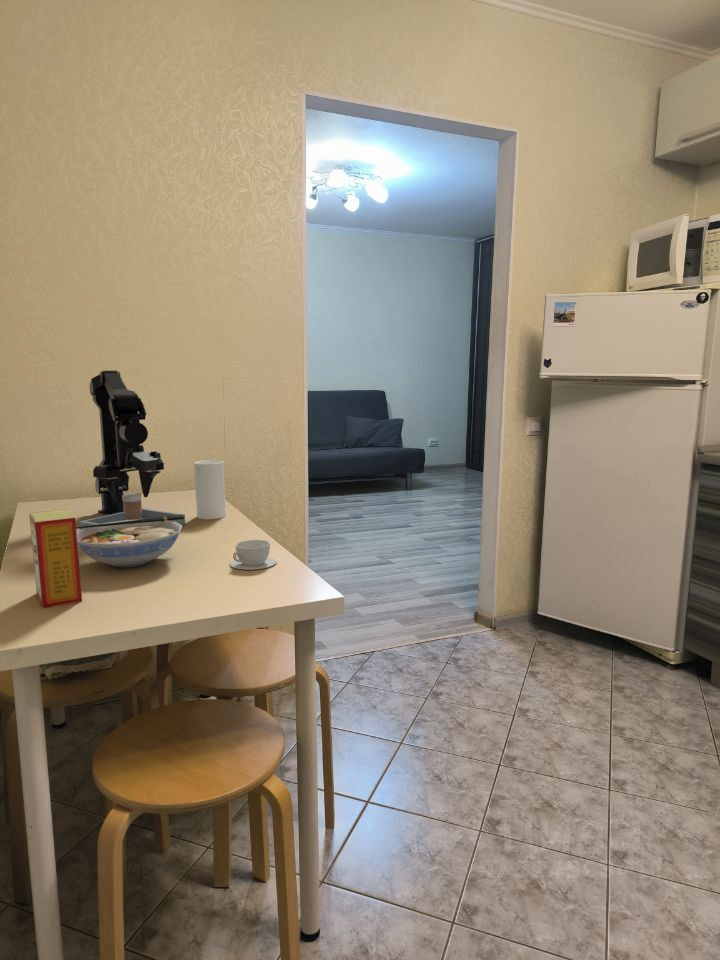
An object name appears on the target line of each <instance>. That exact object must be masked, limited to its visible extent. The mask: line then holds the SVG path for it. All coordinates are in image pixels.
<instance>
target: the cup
mask: <svg viewBox="0 0 720 960" xmlns="http://www.w3.org/2000/svg"><path fill="white" fill-rule="evenodd" d="M193 465H194V485H195V504H196V518H197V519H200V520H218V519H221V518H225V517H226V516H227V512H226V511H227V510H226V507H227V506H226V489H225V488H226V487H225V467H224V466H225V465H224V461H223V460H219V459H206V460H205V459H204V460H198V461H194V463H193Z"/></svg>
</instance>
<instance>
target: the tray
mask: <svg viewBox="0 0 720 960" xmlns="http://www.w3.org/2000/svg"><path fill="white" fill-rule="evenodd" d="M175 515H183V516H184V519H180V520H168V521H172V522H177V523H178V524H180V525H182V527H184V526H186V515H185V514H183V513H176V512H170V511H164V510H156V509H149V508H142V519H149V518H158V517H166V516H175ZM116 521H124V511H123V512H119V513H114V514H106V515H104V516H103V515H102V516H97V517H95V518H90V519H85V520H80V521H78V524H79V526H78V527H82V526H90V525H98V524H103V523H108V522H116ZM81 529H84V528H79V530H81Z"/></svg>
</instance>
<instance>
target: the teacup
mask: <svg viewBox="0 0 720 960" xmlns="http://www.w3.org/2000/svg"><path fill="white" fill-rule="evenodd" d="M270 547H271V543H270V542H269V541H267V540H264V539H248V540H243V541H238V542H237V543H236V544H235V551H234V552H233V553H232V557H233V560H232V561H231V562H230V563H229V566H230V567H232V568H234V569H236V570H237V569H238V570H247V571H248V570H250V571H252V570H260V569H261V570H262V569H266V568H270V567H273V566H275V565H276V564H277V559H275V558H273V557H270Z"/></svg>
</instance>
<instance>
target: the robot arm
mask: <svg viewBox="0 0 720 960" xmlns="http://www.w3.org/2000/svg"><path fill="white" fill-rule="evenodd" d="M122 378H123V377H122V376H121V372H120V371H117V370H102V371H100V372H99V374H98V375H96V376H94V377H92V378H91V379H90V382H89V393H90V396H91V398H92V401H93V403H94V404H95V406H96V407H97V408H98V410H99V413H98V414H99V424H100V426H99V427H100V436H101V438H100V439H101V450H102V459H101V461H100V463H99V464H98V465H95V466H94V468H93V470H92V475H93V478H95V484H94V487H95V492H96V493H97V494H98V495H100V497H101V509H99V510H97V512H98V513H101V514H106V515H111V514H116V513H121V512H124V509H123V501H122V495H124V492H128V491H129V490H130V489H129V488H130V487H129V483H130V482H129V481H130V475H129V474H128V473H130V472H135V471H138V478H139V482H140V486H141V491H142V494H143V495H142V496H143V498H148V496H149V494H150V490H151V487H152V484H153V482H154V479H155V477H156V476H157V475H159V474H160V473H161V471H162V470H165V463H164V461H163V460H162V456H161V452H160V451H158V450H153V451H150V452H145V448H144V445H142V444H144V443H145V442H146V440H147V439H148V436H149V435H148V434H149V431H148V429H147V427H146V426H145V425H144V424H143V423H141V422H140V421H142V420H143V421H145V420H146V418H147V417H146V416H147V411H146V408H145V405H144V403H143V401H142V399H141V397H139V395H138V394H137V393H136V392H135V391H134V390H130V389H128V388H127V386H126V385H125V382H124V380H123V379H122Z"/></svg>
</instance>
